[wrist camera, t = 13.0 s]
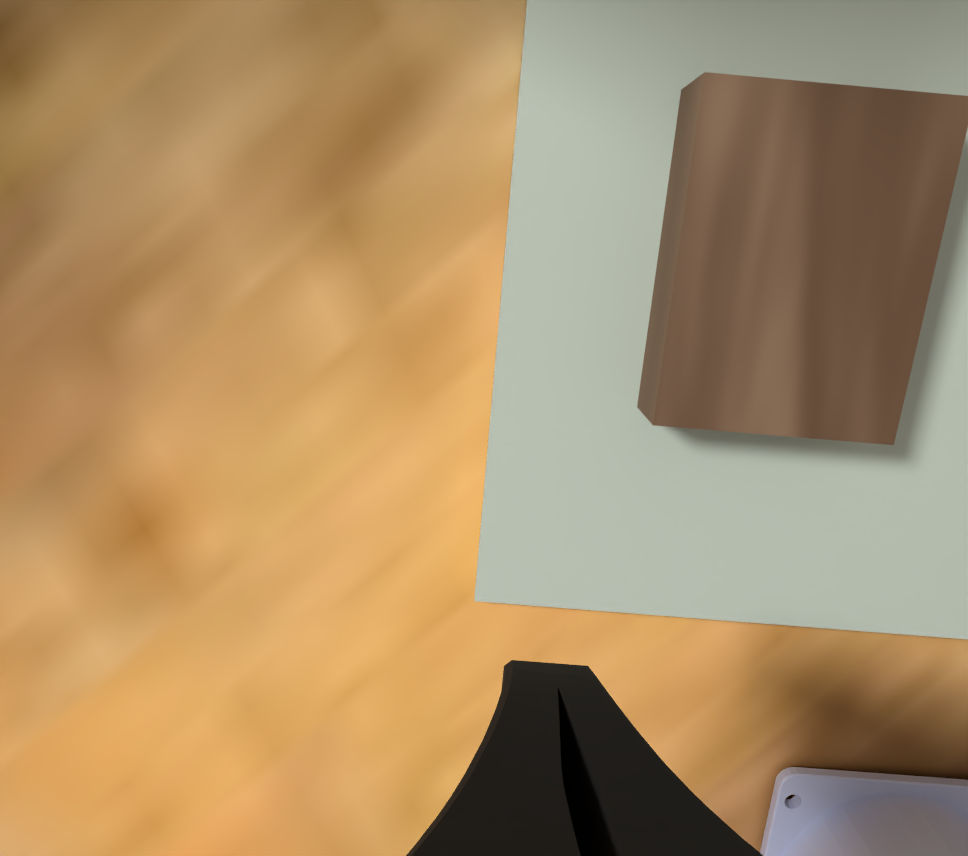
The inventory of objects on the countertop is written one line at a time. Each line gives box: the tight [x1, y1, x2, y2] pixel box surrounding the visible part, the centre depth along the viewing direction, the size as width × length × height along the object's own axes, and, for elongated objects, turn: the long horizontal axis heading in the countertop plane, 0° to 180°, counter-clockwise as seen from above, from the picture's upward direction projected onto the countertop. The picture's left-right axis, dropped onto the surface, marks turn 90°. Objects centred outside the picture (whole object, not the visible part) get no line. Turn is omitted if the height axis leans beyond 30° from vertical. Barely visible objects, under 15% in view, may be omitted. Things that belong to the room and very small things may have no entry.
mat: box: [475, 0, 968, 639], centre depth 20 cm, size 18×18×1 cm
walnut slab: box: [637, 72, 968, 445], centre depth 18 cm, size 2×8×6 cm
